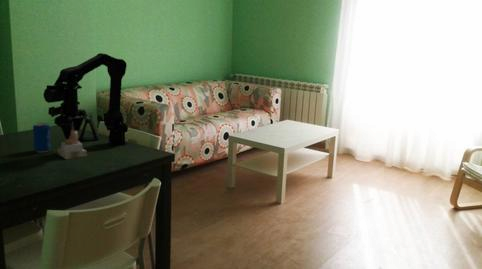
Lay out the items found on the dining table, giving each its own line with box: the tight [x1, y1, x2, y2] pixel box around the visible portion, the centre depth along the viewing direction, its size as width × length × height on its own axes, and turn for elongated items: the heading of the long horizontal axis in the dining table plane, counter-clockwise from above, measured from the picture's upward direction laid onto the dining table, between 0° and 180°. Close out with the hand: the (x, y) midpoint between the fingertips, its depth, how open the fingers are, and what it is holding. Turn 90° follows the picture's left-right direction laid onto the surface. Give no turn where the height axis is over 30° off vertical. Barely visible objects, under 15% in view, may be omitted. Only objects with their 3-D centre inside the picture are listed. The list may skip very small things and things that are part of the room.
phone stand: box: [78, 113, 100, 142], centre depth 213 cm, size 9×6×12 cm, turn 103°
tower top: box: [60, 140, 84, 153], centre depth 188 cm, size 7×7×3 cm
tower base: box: [57, 147, 88, 160], centre depth 189 cm, size 9×9×3 cm
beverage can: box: [32, 122, 52, 154], centre depth 190 cm, size 6×6×12 cm
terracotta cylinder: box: [64, 129, 79, 144], centre depth 187 cm, size 5×5×5 cm
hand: (71, 136), depth 187 cm, fingers open, 9 cm apart
